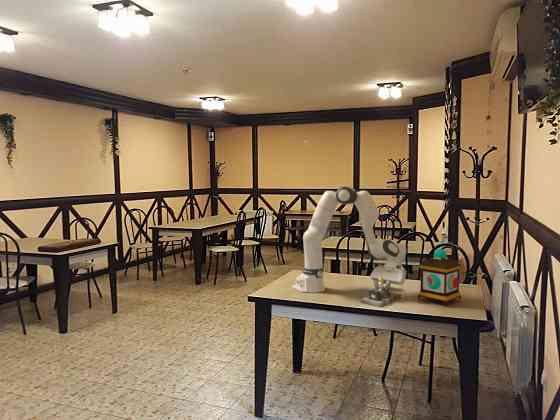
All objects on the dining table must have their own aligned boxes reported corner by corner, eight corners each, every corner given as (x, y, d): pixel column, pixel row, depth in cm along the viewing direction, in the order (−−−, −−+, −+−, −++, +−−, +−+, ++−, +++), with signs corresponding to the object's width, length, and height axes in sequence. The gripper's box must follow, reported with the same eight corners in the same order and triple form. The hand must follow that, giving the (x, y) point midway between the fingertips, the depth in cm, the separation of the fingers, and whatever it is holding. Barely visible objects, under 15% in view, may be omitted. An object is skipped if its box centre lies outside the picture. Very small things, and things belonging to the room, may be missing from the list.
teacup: (391, 291, 262) (391, 279, 262) (373, 291, 264) (373, 278, 264) (389, 286, 276) (390, 274, 275) (372, 285, 278) (372, 273, 278)
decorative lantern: (464, 301, 241) (466, 248, 239) (447, 308, 228) (448, 252, 226) (431, 294, 256) (432, 244, 254) (413, 300, 243) (414, 248, 241)
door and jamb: (382, 294, 257) (382, 283, 257) (401, 298, 249) (401, 287, 248) (360, 302, 240) (360, 291, 239) (379, 307, 231) (379, 295, 231)
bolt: (379, 294, 246) (380, 276, 245) (384, 295, 244) (385, 277, 243) (370, 297, 239) (370, 279, 238) (375, 298, 237) (375, 280, 236)
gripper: (373, 262, 257) (365, 281, 250) (405, 267, 243) (397, 287, 236) (377, 269, 260) (369, 287, 254) (409, 273, 246) (400, 294, 240)
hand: (382, 287), depth 245 cm, fingers closed, pressing on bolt
